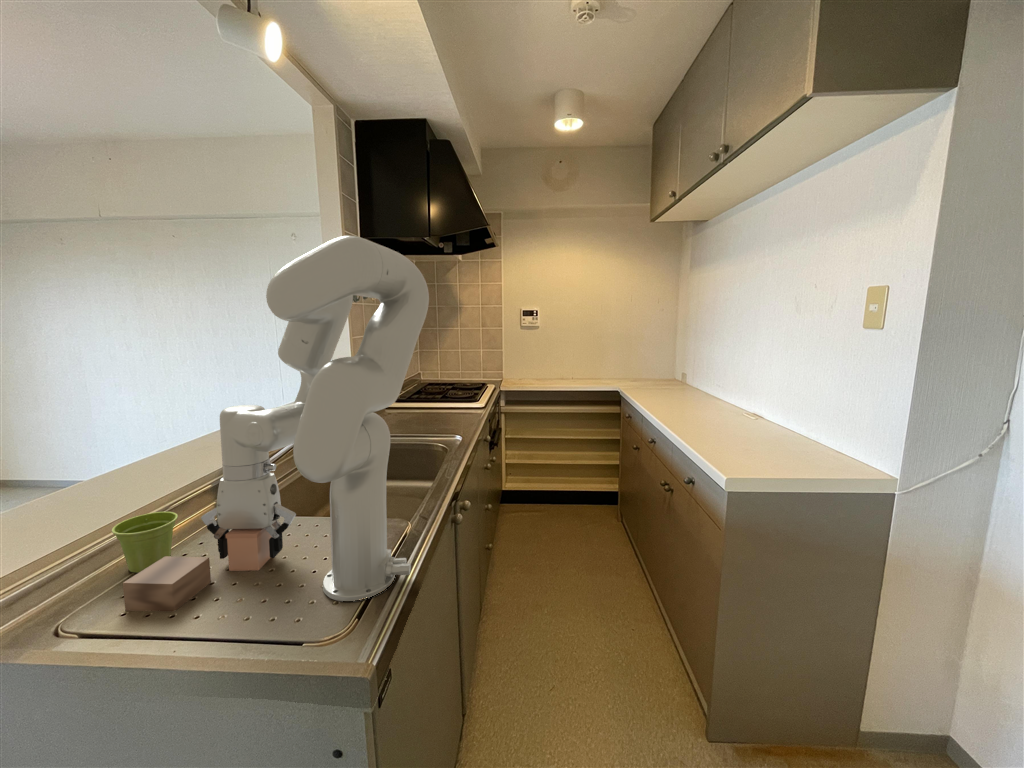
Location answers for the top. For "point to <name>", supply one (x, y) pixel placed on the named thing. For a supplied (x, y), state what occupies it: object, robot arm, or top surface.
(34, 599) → the top surface
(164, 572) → the walnut box
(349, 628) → the top surface
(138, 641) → the top surface
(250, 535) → the peach lipped block
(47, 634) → the top surface
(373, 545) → the robot arm
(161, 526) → the plant pot
